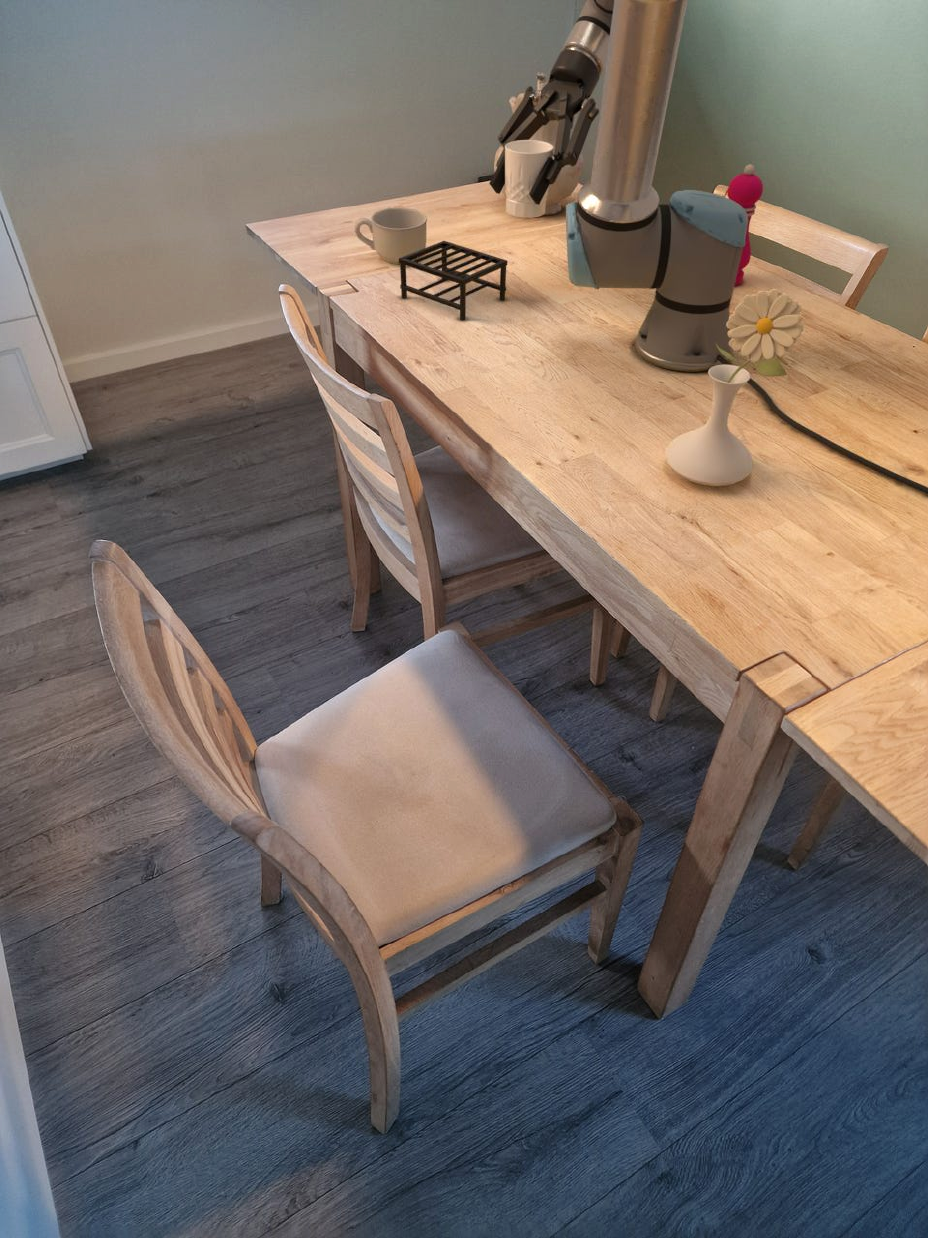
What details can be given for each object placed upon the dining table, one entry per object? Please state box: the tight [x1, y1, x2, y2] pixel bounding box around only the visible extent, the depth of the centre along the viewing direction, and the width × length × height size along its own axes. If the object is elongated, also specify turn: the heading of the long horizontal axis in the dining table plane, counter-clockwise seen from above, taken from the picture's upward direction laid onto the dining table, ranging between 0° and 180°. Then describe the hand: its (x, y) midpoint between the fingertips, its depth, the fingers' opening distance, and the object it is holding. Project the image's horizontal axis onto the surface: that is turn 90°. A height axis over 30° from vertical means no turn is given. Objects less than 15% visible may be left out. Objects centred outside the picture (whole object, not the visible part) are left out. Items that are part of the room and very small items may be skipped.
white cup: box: [505, 140, 554, 219], centre depth 139 cm, size 8×8×10 cm
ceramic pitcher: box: [493, 71, 584, 216], centre depth 181 cm, size 22×20×25 cm
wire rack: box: [399, 240, 508, 321], centre depth 149 cm, size 15×12×7 cm
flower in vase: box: [664, 288, 805, 487], centre depth 102 cm, size 13×11×25 cm
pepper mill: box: [726, 164, 764, 287], centre depth 152 cm, size 7×7×20 cm
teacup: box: [354, 206, 428, 265], centre depth 163 cm, size 14×11×8 cm
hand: (514, 193), depth 138 cm, fingers closed on white cup, 8 cm apart
